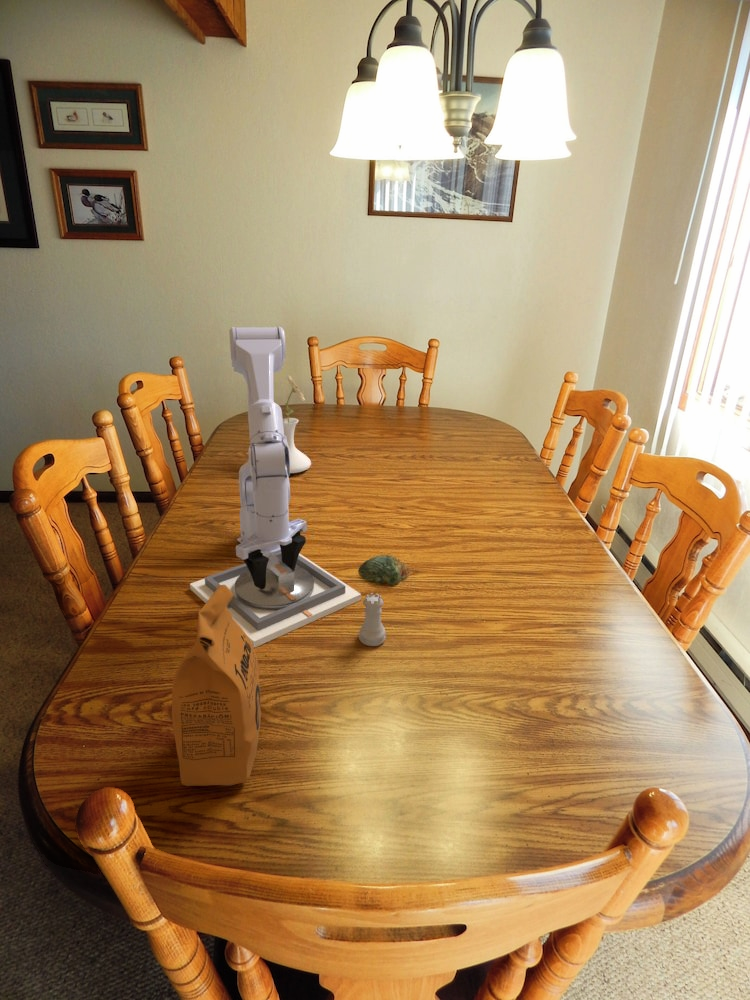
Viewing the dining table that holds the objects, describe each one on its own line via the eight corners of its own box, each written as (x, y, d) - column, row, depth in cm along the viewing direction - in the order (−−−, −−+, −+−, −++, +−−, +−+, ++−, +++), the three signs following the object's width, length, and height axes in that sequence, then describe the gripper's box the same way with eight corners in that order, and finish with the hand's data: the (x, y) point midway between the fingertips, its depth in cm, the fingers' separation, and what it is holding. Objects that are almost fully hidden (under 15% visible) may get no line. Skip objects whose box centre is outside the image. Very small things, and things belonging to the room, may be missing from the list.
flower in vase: (308, 477, 164) (307, 384, 154) (265, 476, 165) (261, 382, 154) (314, 460, 176) (313, 372, 166) (274, 459, 176) (270, 371, 166)
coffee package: (273, 719, 84) (266, 579, 76) (251, 796, 73) (240, 641, 64) (200, 714, 85) (185, 574, 76) (168, 790, 73) (145, 636, 65)
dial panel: (190, 589, 113) (189, 576, 112) (291, 553, 127) (291, 541, 126) (254, 647, 98) (253, 633, 97) (360, 599, 112) (361, 586, 111)
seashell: (401, 540, 125) (417, 565, 116) (402, 558, 127) (417, 583, 118) (352, 548, 123) (364, 574, 114) (354, 566, 125) (366, 593, 116)
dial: (257, 618, 103) (255, 591, 101) (222, 581, 113) (220, 556, 111) (328, 593, 111) (328, 567, 109) (289, 560, 121) (289, 536, 119)
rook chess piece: (370, 627, 104) (371, 586, 101) (391, 638, 102) (393, 596, 98) (352, 639, 101) (353, 597, 98) (374, 651, 98) (375, 608, 95)
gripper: (253, 531, 98) (258, 604, 104) (318, 504, 109) (319, 571, 114) (225, 518, 102) (231, 589, 108) (290, 493, 113) (292, 558, 118)
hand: (274, 579), depth 111 cm, fingers open, 6 cm apart
